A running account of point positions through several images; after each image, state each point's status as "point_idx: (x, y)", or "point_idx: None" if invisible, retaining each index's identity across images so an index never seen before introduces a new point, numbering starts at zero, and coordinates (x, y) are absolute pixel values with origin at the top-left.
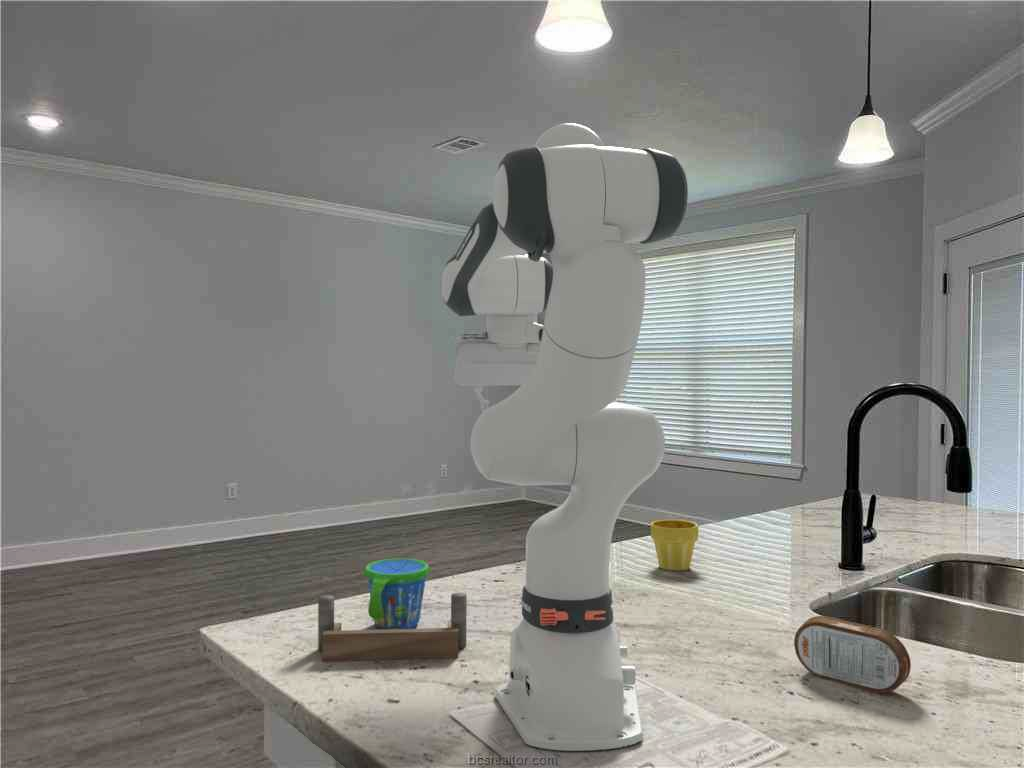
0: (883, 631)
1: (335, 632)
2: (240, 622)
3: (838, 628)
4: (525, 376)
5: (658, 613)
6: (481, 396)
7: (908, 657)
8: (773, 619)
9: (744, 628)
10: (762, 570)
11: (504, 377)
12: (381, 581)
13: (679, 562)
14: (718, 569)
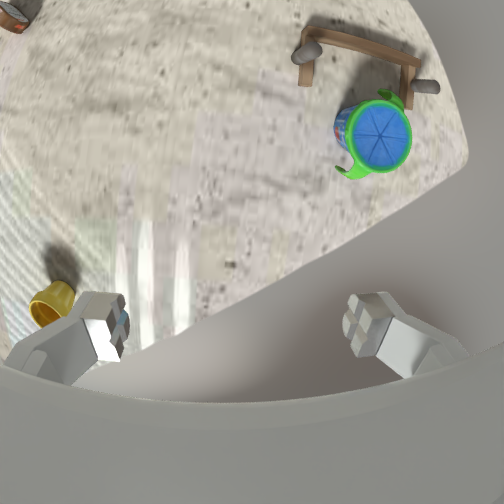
0: None
1: (412, 59)
2: (454, 170)
3: (2, 7)
4: (114, 462)
5: (79, 146)
6: (419, 328)
7: None
8: (7, 140)
9: (28, 112)
10: (9, 274)
11: (353, 448)
12: (396, 100)
13: (55, 283)
14: (34, 281)
